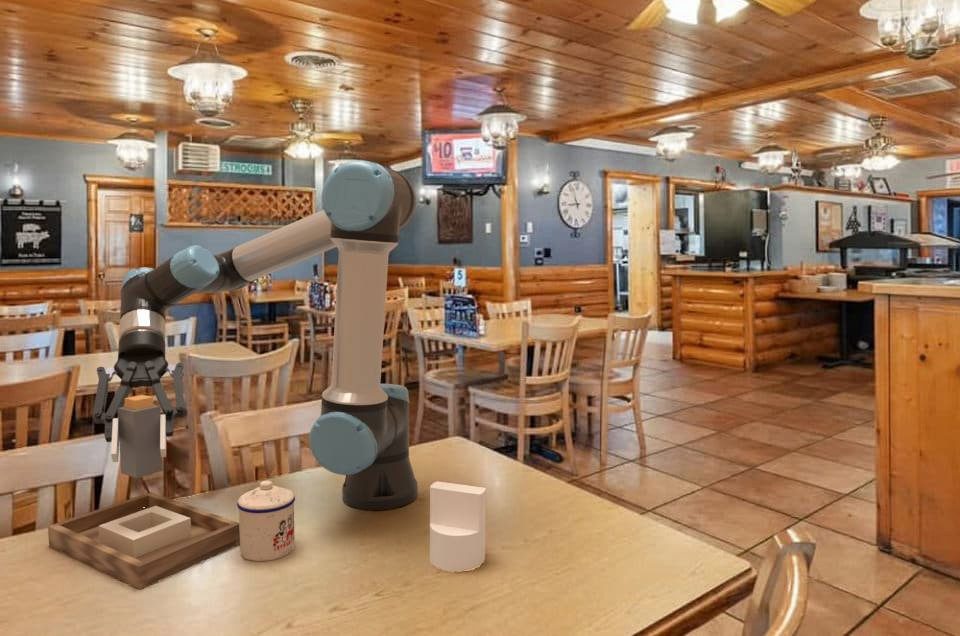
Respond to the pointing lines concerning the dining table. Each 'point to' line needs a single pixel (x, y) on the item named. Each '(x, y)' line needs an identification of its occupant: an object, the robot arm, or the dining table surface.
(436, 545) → the cylinder with rectangular tab
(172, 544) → the brown wooden tray
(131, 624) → the dining table surface
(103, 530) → the socket
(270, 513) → the teacup with lid
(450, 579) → the dining table surface
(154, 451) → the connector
